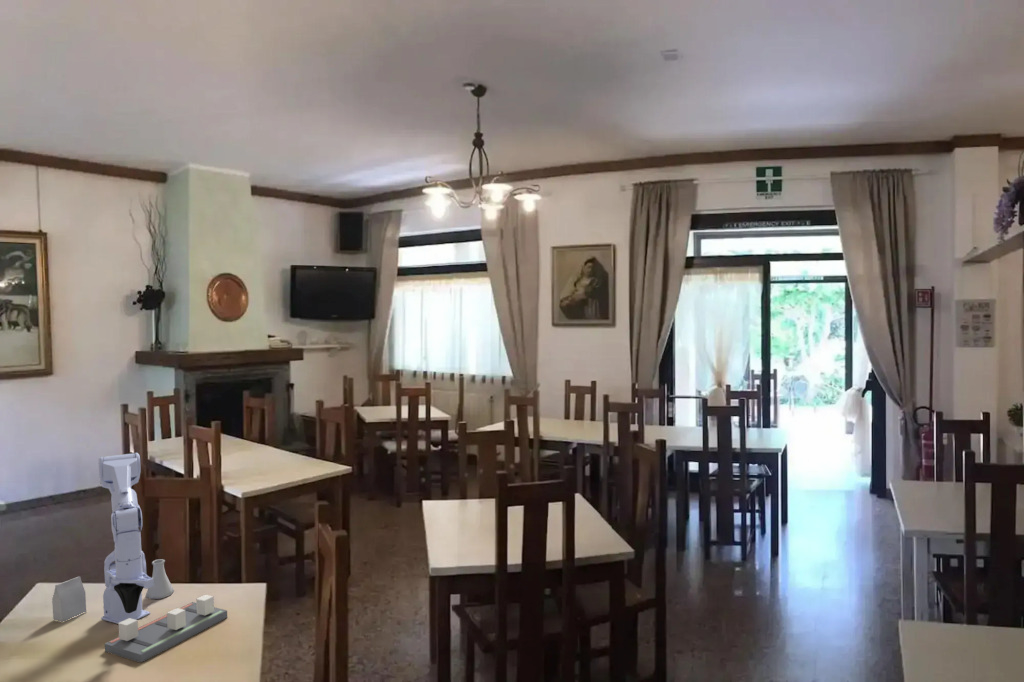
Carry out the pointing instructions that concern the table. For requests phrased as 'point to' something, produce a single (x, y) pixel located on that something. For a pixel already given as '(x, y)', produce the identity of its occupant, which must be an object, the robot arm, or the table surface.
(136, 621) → the switch
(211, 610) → the switch far
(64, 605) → the grey paper bag
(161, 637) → the panel
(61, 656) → the table surface
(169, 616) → the switch middle
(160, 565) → the flask
